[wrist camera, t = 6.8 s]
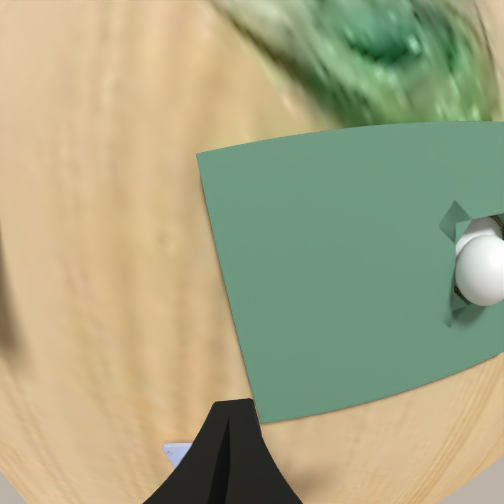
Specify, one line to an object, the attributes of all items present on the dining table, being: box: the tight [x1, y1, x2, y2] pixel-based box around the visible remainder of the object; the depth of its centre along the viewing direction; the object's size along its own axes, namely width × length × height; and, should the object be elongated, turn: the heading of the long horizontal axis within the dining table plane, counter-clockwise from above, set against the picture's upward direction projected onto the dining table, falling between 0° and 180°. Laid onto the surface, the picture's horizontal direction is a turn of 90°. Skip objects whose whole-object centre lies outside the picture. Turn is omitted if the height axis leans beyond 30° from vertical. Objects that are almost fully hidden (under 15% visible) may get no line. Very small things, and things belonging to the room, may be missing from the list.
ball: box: [455, 235, 504, 306], centre depth 16 cm, size 4×4×4 cm
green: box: [196, 121, 504, 423], centre depth 18 cm, size 18×22×2 cm
